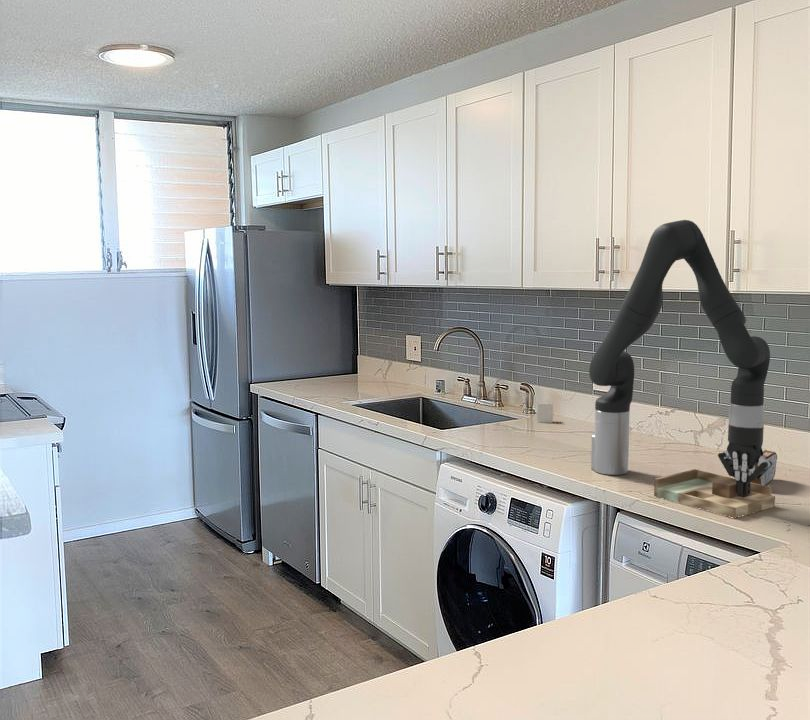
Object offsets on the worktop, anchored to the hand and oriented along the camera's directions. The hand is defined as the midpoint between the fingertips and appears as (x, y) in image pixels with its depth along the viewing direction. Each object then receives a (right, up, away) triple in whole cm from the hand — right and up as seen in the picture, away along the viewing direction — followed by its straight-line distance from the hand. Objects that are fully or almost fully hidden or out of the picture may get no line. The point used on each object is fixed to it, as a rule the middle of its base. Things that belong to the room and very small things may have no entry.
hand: (742, 496), depth 190 cm
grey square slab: (-28, +8, +107) cm, 111 cm away
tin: (+15, -1, +22) cm, 27 cm away
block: (-3, 0, +4) cm, 4 cm away
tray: (-5, -2, +7) cm, 8 cm away
